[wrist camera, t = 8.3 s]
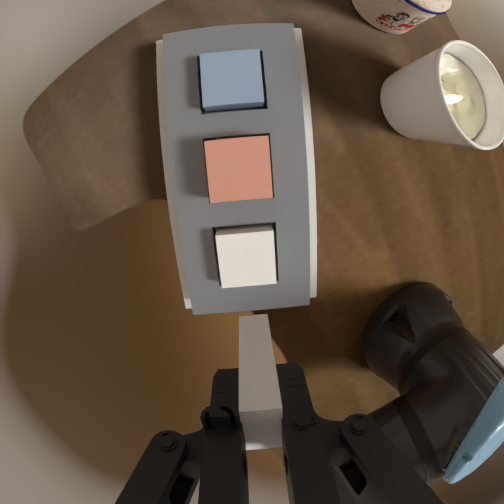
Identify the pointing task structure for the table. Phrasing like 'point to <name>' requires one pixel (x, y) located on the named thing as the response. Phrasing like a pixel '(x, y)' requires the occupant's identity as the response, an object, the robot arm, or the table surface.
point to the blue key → (231, 80)
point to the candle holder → (447, 98)
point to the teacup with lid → (399, 13)
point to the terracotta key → (238, 169)
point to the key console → (236, 126)
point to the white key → (246, 255)
